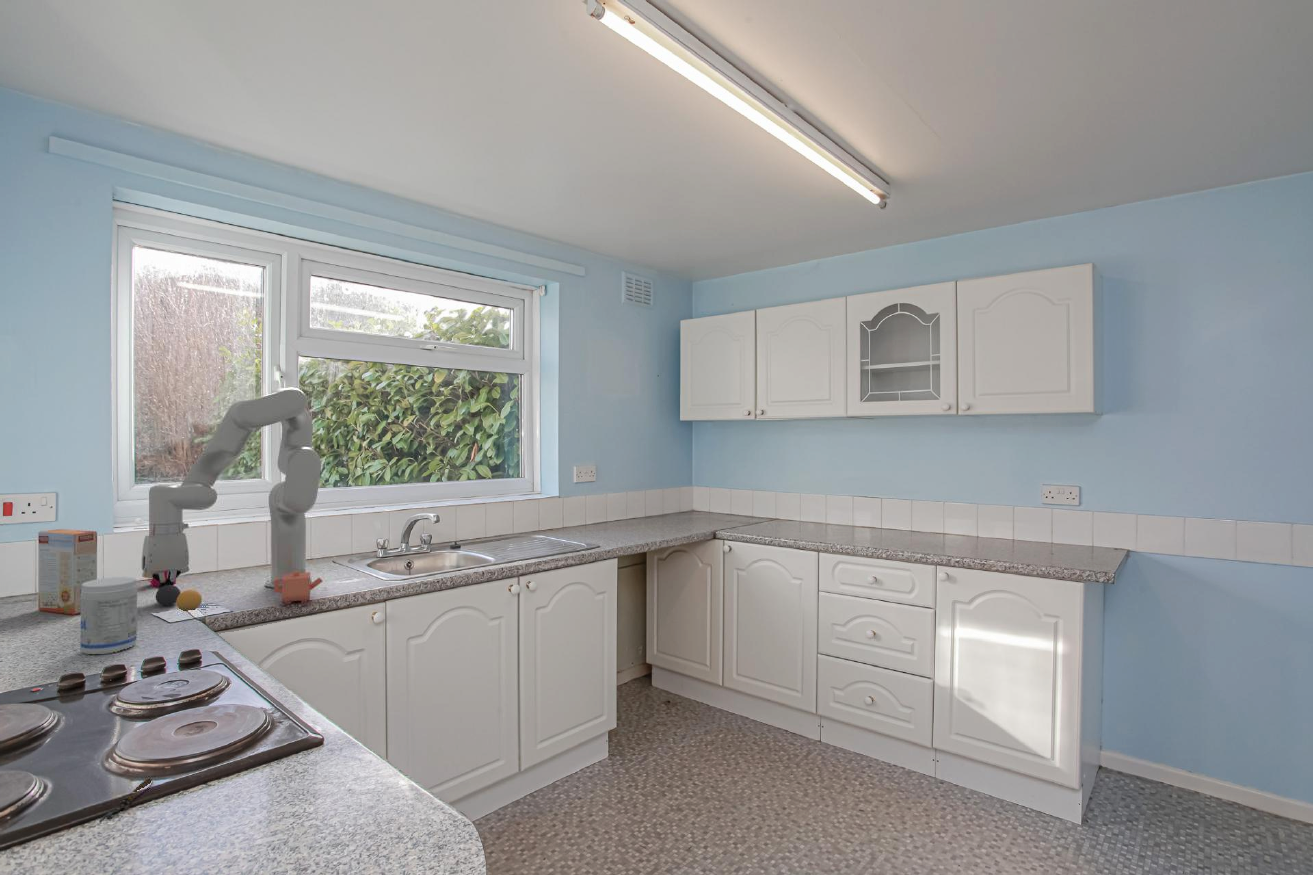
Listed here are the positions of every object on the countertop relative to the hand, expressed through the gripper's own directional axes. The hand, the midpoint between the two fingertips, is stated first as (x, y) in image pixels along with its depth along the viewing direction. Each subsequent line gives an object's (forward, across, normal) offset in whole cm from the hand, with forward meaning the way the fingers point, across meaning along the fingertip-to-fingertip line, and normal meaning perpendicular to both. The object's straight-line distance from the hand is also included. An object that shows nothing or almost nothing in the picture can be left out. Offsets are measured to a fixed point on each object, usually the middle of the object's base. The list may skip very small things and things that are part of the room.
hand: (166, 596), depth 188 cm
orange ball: (-1, 0, +16) cm, 16 cm away
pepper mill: (+2, -7, -26) cm, 26 cm away
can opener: (+2, +39, +116) cm, 122 cm away
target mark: (+2, 0, +19) cm, 19 cm away
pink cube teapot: (+2, -23, +28) cm, 36 cm away
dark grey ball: (-1, +1, +6) cm, 6 cm away
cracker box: (+2, +19, -9) cm, 21 cm away
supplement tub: (+2, +22, +38) cm, 44 cm away
